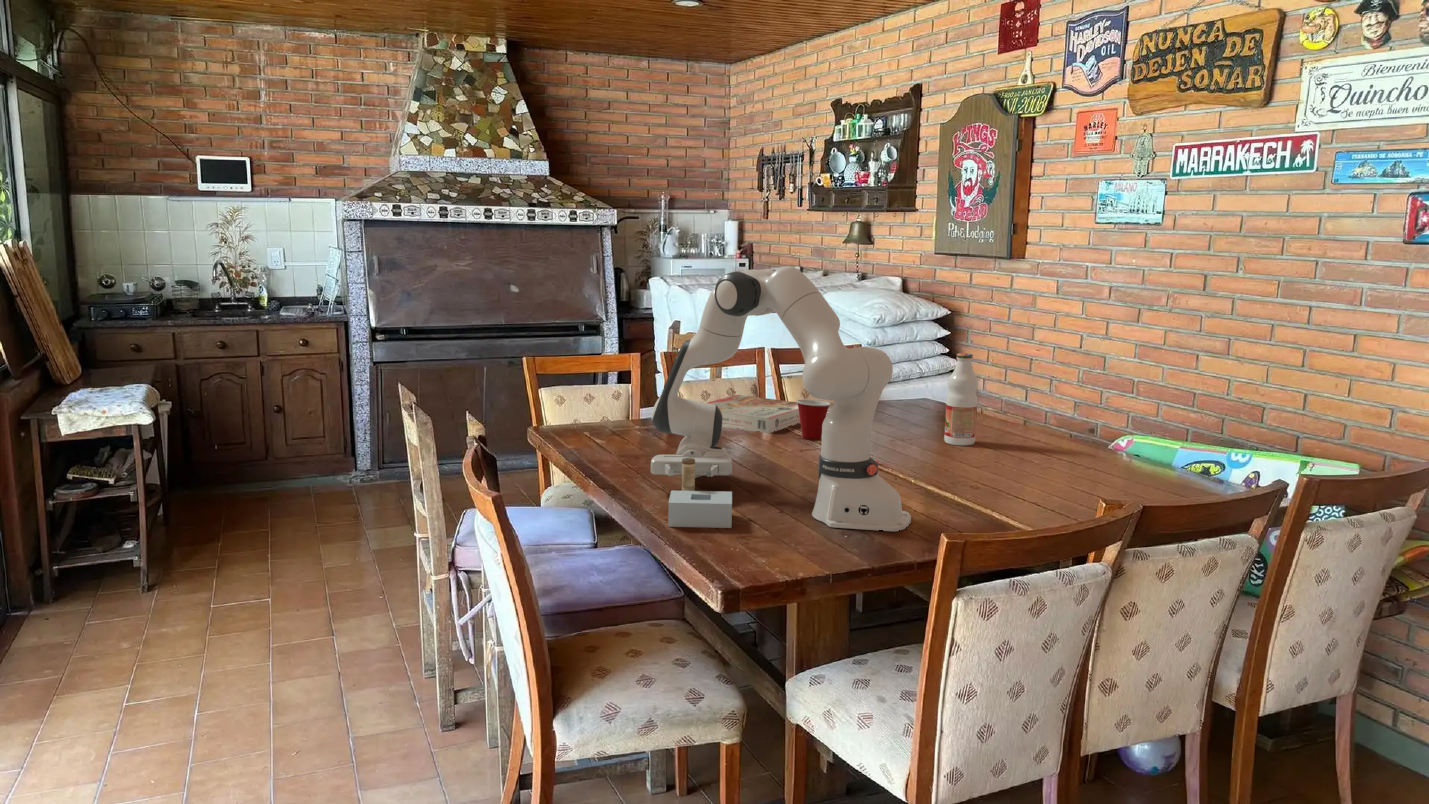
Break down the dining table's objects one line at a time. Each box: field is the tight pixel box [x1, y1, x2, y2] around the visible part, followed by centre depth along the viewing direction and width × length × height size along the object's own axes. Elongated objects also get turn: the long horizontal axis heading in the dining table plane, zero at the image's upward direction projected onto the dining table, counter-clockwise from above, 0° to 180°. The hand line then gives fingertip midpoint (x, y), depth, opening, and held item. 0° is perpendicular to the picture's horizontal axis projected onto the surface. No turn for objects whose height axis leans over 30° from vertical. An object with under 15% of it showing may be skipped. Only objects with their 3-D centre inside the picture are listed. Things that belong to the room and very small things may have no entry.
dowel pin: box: [681, 458, 696, 491], centre depth 226 cm, size 3×3×12 cm
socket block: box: [667, 490, 733, 529], centre depth 218 cm, size 14×10×6 cm
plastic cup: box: [795, 399, 831, 441], centre depth 305 cm, size 11×11×12 cm
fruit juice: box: [943, 352, 979, 447], centre depth 300 cm, size 9×9×28 cm
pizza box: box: [695, 394, 800, 434], centre depth 333 cm, size 32×5×32 cm
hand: (690, 473), depth 233 cm, fingers open, 8 cm apart
